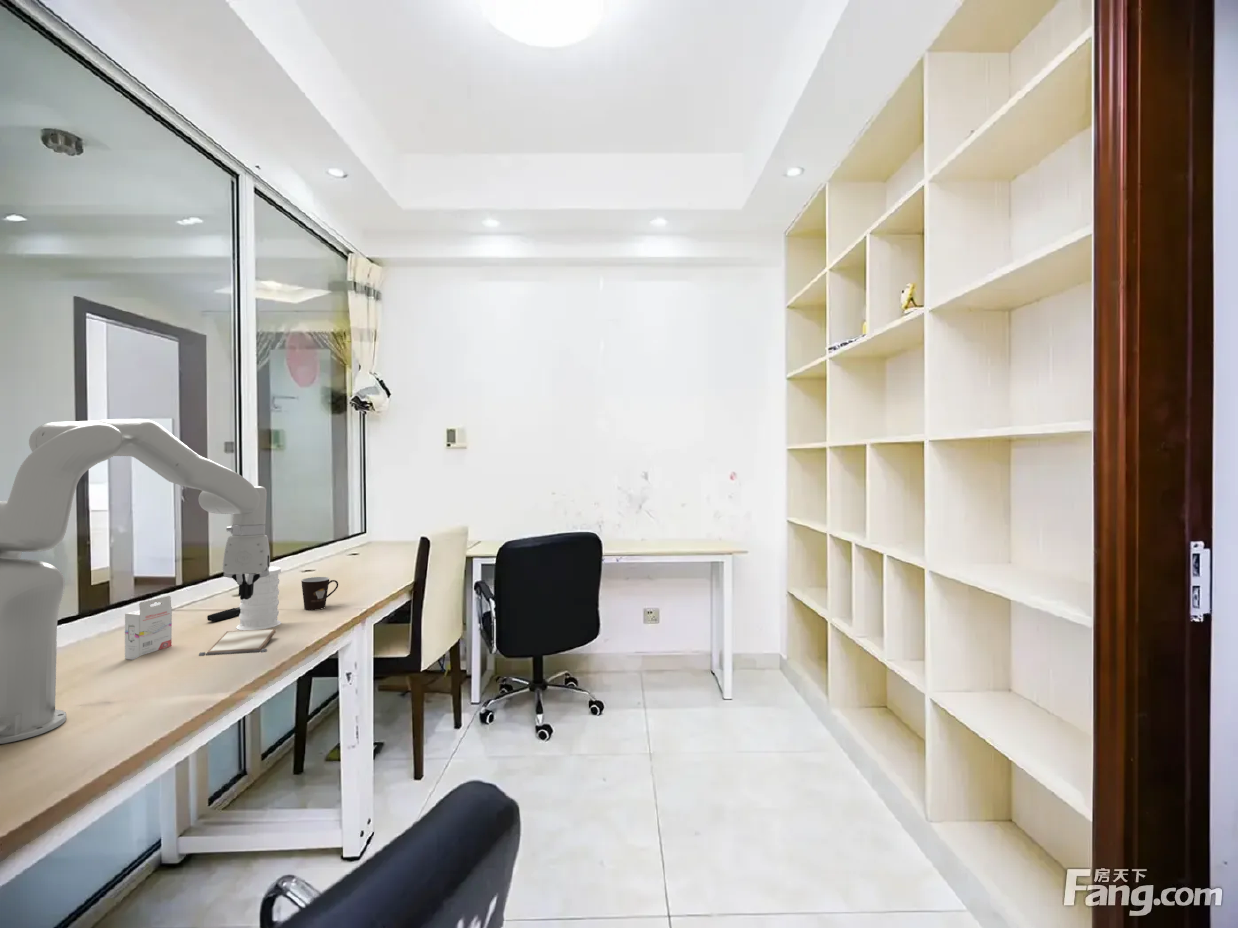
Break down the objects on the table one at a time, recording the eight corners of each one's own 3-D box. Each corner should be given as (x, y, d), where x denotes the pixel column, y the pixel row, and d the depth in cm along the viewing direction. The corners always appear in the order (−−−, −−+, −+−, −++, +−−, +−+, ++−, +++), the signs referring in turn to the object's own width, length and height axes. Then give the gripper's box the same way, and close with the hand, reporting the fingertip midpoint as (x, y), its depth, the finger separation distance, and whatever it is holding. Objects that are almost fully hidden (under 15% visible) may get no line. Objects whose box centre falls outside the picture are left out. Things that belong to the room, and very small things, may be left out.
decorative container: (257, 636, 164) (258, 574, 164) (226, 632, 167) (227, 571, 167) (290, 625, 175) (291, 567, 175) (260, 622, 178) (261, 565, 178)
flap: (275, 628, 158) (275, 632, 159) (226, 631, 155) (227, 634, 156) (258, 650, 146) (258, 654, 146) (205, 653, 143) (205, 657, 143)
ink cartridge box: (156, 648, 151) (158, 593, 151) (172, 650, 150) (173, 595, 150) (123, 659, 143) (124, 601, 143) (138, 660, 142) (140, 602, 142)
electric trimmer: (203, 624, 176) (203, 614, 176) (246, 611, 191) (246, 602, 191) (213, 625, 175) (213, 615, 175) (255, 612, 190) (255, 602, 190)
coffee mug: (300, 612, 190) (301, 582, 190) (300, 606, 198) (301, 578, 198) (338, 608, 196) (339, 579, 196) (337, 603, 203) (338, 575, 203)
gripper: (211, 532, 149) (207, 602, 148) (274, 532, 152) (271, 600, 152) (223, 529, 156) (220, 596, 155) (283, 529, 160) (280, 595, 159)
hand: (245, 598), depth 153 cm, fingers closed
